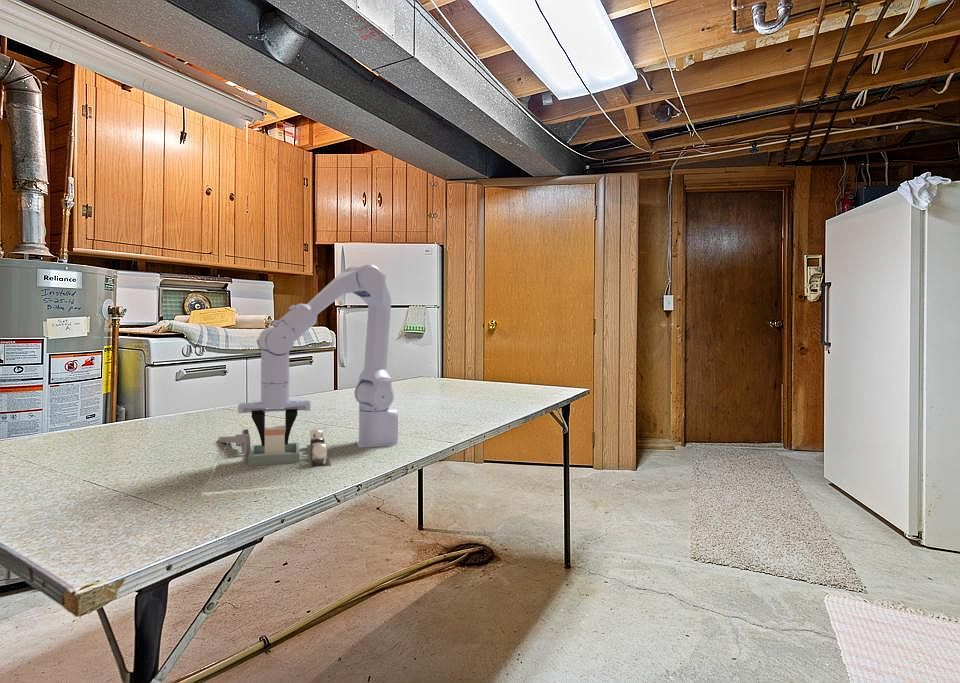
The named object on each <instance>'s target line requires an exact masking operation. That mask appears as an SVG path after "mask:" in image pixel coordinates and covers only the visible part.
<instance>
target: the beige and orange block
mask: <svg viewBox="0 0 960 683" xmlns="http://www.w3.org/2000/svg"><path fill="white" fill-rule="evenodd" d="M264 436H265V455H273V454H285V424H280V425H279V424H277V425H265V430H264Z"/></svg>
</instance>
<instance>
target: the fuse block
mask: <svg viewBox="0 0 960 683" xmlns="http://www.w3.org/2000/svg"><path fill="white" fill-rule="evenodd" d="M309 441H310V442H309V444H307V445H306V449H307V450H306V452H307V460H308V467H309V468H317V467H319V468H320V467H331V466H332V464H331V459H330V455H329V450H328V443H326V442H325V438H324V429H323V428H314V429H310V430H309Z"/></svg>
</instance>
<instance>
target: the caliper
mask: <svg viewBox="0 0 960 683" xmlns="http://www.w3.org/2000/svg"><path fill="white" fill-rule="evenodd" d="M218 437H219V438H218V439H217V441H219V442H220V443H221V442H222V444H223V443H224V444H225V443H228V444H229V443H230V444H232V443H233V444H235V447H240V449H241V453H242V454H243V455H245V456H249V453H250V450H251V447H252V443H251V434H250V433H249V428H247V429H242V430H241V433H239V434H235V435H229V436H228V435H227V436H226V435H223V436H218Z"/></svg>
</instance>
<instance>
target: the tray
mask: <svg viewBox="0 0 960 683" xmlns="http://www.w3.org/2000/svg"><path fill="white" fill-rule="evenodd" d="M300 454H301V453H300V442H288V444H287V445H285V454H273V455H265V446H262V444H254V445H252V444H251V450H250V453H249V455H247V456H248V457H247V458H248V460H247V461H248V462H247V465H248V466H249V467H251V466H261V465H262V466H263V465H275V464H276V465H277V464H287V463H289V464H290V463H291V464H292V463H300V458H301V457H300Z"/></svg>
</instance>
